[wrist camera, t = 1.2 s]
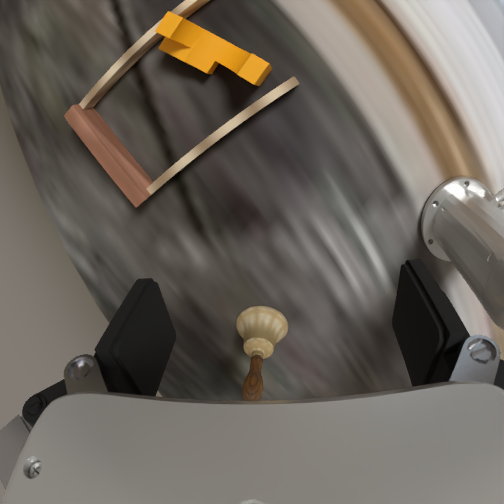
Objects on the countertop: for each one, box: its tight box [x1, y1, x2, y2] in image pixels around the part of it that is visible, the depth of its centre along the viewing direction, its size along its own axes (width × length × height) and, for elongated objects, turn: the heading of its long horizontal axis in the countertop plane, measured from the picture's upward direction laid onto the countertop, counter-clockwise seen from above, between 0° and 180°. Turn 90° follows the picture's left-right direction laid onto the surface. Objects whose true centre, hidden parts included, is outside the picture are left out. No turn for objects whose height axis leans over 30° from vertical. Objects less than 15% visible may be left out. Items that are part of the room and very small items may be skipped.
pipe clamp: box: [155, 11, 272, 86], centre depth 28 cm, size 12×4×6 cm, turn 57°
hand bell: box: [236, 306, 288, 401], centre depth 42 cm, size 8×8×16 cm
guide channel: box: [64, 0, 300, 208], centre depth 31 cm, size 24×16×4 cm, turn 127°
